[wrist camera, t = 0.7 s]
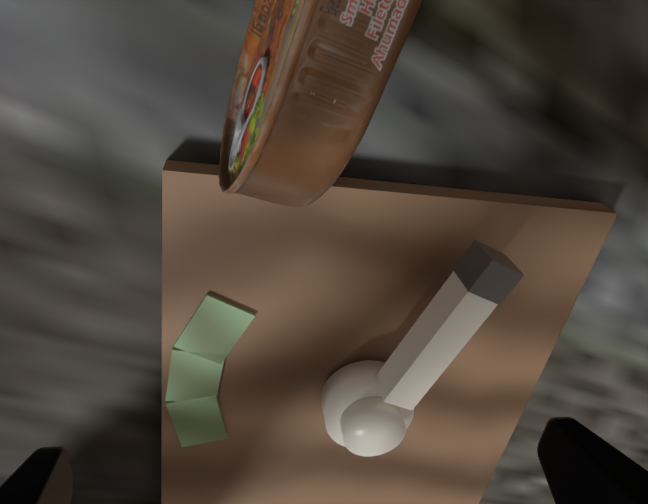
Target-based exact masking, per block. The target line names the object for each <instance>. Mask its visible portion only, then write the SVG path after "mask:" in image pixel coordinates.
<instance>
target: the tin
mask: <svg viewBox="0 0 648 504" xmlns="http://www.w3.org/2000/svg"><path fill="white" fill-rule="evenodd" d="M421 2H422V0H256V2H255V6H254V9H253V13H252V16H251V19H250V23H249V26H248V29H247V33H246V36H245V40H244V43H243V47H242V50H241V54H240V58H239V62H238V66H237V70H236V74H235V78H234V82H233V86H232V90H231V94H230V99H229V103H228V108H227V113H226V119H225V124H224V129H223V137H222V143H221V151H220V164H219V186H220V188H221V190H222V192H224V193H226V194H233V193H237V194H242V195H245V196H249V197H253V198H257V199H261V200H264V201H268V202H272V203H276V204H280V205H285V206H291V207H303V206H307V205H309V204H311V203H313V202H315V201H316V200H317V199H319V198H320V197H321V196H322V195H323V194H324V193H325V192H326V191H328V189H329V188H330V187H331V186H332V185H333V184H334V183H335V181H336V180H337V179H338V177H339V176H340V174H341V173H342V171H343V170H344V168H345V167H346V165H347V164H348V162H349V161H350V159H351V157H352V155H353V153H354V152H355V150H356V148H357V146H358V145H359V143H360V141H361V139H362V137H363V135H364V133H365V131H366V129H367V127H368V125H369V123H370V120H371V118H372V116H373V113H374V111H375V109H376V107H377V104H378V102H379V100H380V98H381V95H382V93H383V91H384V88H385V86H386V83H387V81H388V79H389V77H390V75H391V73H392V70H393V68H394V66H395V63H396V61H397V59H398V56H399V54H400V52H401V49H402V47H403V45H404V43H405V40H406V38H407V35H408V33H409V30H410V28H411V26H412V23H413V21H414V19H415V17H416V14H417V12H418V10H419V7H420V5H421Z"/></svg>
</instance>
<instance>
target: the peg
mask: <svg viewBox="0 0 648 504" xmlns="http://www.w3.org/2000/svg"><path fill="white" fill-rule="evenodd" d="M523 276H524V274H523V273H522V272H521V271H520V270H519V269H518V268H517V267H516V265H515V264H514V263H513V262H512V261H511V260H510V259H509V258H508V257H507V256H506V255H505V254H504V253H502V252H500V251H498V250H496V249H494V248H492V247H490V246H487V245H485V244H483V243H481V242H479V241H477V240H474V241H473V242H472V244H471V245H470V247H469V248H468V249H467V251H466V252H465V253H464V255H463V256H462V257H461V259H460V260H459V261H458V263H457V264H456V265H455V267H454V268H453V272H452V274H451V275H450V276H449V278H448V279H447V280H446V282H445V283H444V284H443V286H442V287H441V289H440V290H439V291H438V293H437V294H436V295H435V297H434V298H433V299H432V301H431V302H430V303H429V305H428V306H427V307H426V309H425V310H424V311H423V313H422V314H421V315H420V317H419V318H418V319H417V321H416V322H415V324H414V325H413V326H412V328H411V329H410V330H409V332H408V333H407V334H406V336H405V337H404V338H403V340H402V341H401V342H400V344H399V345H398V346H397V348H396V349H395V350H394V352H393V353H392V355H391V356H390V357H389V359H388V360H387V361H386V363H385V362H381V361H376V360H365V361H358V362H354V363H351V364H349V365H346V366H344V367H342V368H340V369H339V370H337V371H336V372H335V373H333V374H332V375H331V376H330V377H329V378H328V380H327V381H326V382H325V384H324V386H323V388H322V392H321V404H322V409H323V414H324V420H325V425H326V430H327V432H328V434H329V436H330V437H331V438H332V439H333V440H334V441H335V442H336V443H338V444H340V445H342V446H344V447H346V448H347V449H348V450H349V451H350V452H352V453H354V454H356V455H359V456H365V457H371V456H378V455H382V454H384V453H387V452H389V451H391V450H393V449H394V448H395V447H397V446H398V445H399V444H400V443H401V441H402V440H403V438H404V437H405V434H406V429H407V428H408V427H409V425H410V423H411V422H412V419H413V416H414V407H415V406H416V405H417V404H418V403H419V401H420V400H421V399H422V398H423V396H424V395H425V394H426V393H427V391H428V390H429V389H430V388H431V387H432V385H433V384H434V383H435V382H436V380H437V379H438V378H439V377H440V375H441V374H442V373H443V372H444V371H445V369H446V368H447V367H448V366H449V364H450V363H451V362H452V361H453V359H454V358H455V357H456V356H457V354H458V353H459V352H460V351H461V350H462V348H463V347H464V346H465V345H466V343H467V342H468V341H469V340H470V338H471V337H472V336H473V335H474V334H475V332H476V331H477V330H478V329H479V327H480V326H481V325H482V324H483V322H484V321H485V320H486V319H487V317H488V316H489V315H490V314H491V313H492V311H493V310H494V309H495V308H496V306H497V305H500V304H501V303H502V302H503V301H504V299H505V298H506V297H507V296H508V295H509V293H510V292H511V291H512V290H513V288H514V287H515V286H516V285H517V283H518V282H519V281H520V280H521V279H522V277H523Z"/></svg>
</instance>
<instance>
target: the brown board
mask: <svg viewBox="0 0 648 504" xmlns="http://www.w3.org/2000/svg"><path fill="white" fill-rule="evenodd" d="M617 214H618V213H616V212H615V211H613V210H612V209H610V208H609V207H607V206H606V205H604V204H603V203H599V202H588V201H578V200H568V199H558V198H548V197H538V196H528V195H518V194H508V193H498V192H488V191H478V190H468V189H457V188H447V187H437V186H427V185H417V184H407V183H397V182H387V181H377V180H367V179H357V178H347V177H338V179H337V180H336V181H335V183H334V184H333V185H332V186H331V187H330V188H329V189H328V191H326V192H325V193H324V194H323V195H322V196H321V197H320V198H319V199H317V200H316V201H315V202H313V203H311V204H309V205H307V206H303V207H291V206H285V205H280V204H276V203H272V202H268V201H264V200H261V199H257V198H253V197H249V196H245V195H242V194H237V193H233V194H226V193H224V192H222V190H221V188H220V186H219V165H216V164H205V163H195V162H185V161H175V160H166V162H165V165H164V168H163V170H162V455H161V504H479V502H480V500H481V498H482V496H483V494H484V492H485V489H486V487H487V485H488V483H489V481H490V479H491V477H492V475H493V473H494V471H495V469H496V467H497V464H498V462H499V460H500V458H501V456H502V454H503V452H504V450H505V448H506V446H507V444H508V442H509V439H510V437H511V435H512V433H513V431H514V429H515V427H516V425H517V423H518V421H519V419H520V416H521V414H522V412H523V410H524V408H525V406H526V404H527V402H528V400H529V398H530V396H531V394H532V391H533V389H534V387H535V385H536V383H537V381H538V379H539V377H540V375H541V373H542V371H543V369H544V366H545V364H546V362H547V360H548V358H549V356H550V354H551V352H552V350H553V348H554V346H555V344H556V341H557V339H558V337H559V335H560V333H561V331H562V329H563V327H564V325H565V323H566V321H567V318H568V316H569V314H570V312H571V310H572V308H573V306H574V304H575V302H576V300H577V298H578V296H579V293H580V291H581V289H582V287H583V285H584V283H585V281H586V279H587V277H588V275H589V273H590V271H591V268H592V266H593V264H594V262H595V260H596V258H597V256H598V254H599V252H600V250H601V248H602V245H603V243H604V241H605V239H606V237H607V235H608V233H609V231H610V229H611V227H612V225H613V223H614V220H615V218H616V216H617ZM474 240H477V241H479V242H481V243H483V244H485V245H487V246H490V247H492V248H494V249H496V250H498V251H500V252H502V253H504V254H505V255H506V256H507V257H508V258H509V259H510V260H511V261H512V262H513V263H514V264H515V265H516V267H517V268H518V269H519V270H520V271H521V272H522V273H523V274H524V276H523V277H522V279H521V280H520V281H519V282H518V283H517V285H516V286H515V287H514V288H513V290H512V291H511V292H510V293H509V295H508V296H507V297H506V298H505V299H504V301H503V302H502V303H501V304H500V305H497V306H496V308H495V309H494V310H493V311H492V313H491V314H490V315H489V316H488V317H487V319H486V320H485V321H484V322H483V324H482V325H481V326H480V327H479V329H478V330H477V331H476V332H475V334H474V335H473V336H472V337H471V338H470V340H469V341H468V342H467V343H466V345H465V346H464V347H463V348H462V350H461V351H460V352H459V353H458V354H457V356H456V357H455V358H454V359H453V361H452V362H451V363H450V364H449V366H448V367H447V368H446V369H445V371H444V372H443V373H442V374H441V375H440V377H439V378H438V379H437V380H436V382H435V383H434V384H433V385H432V387H431V388H430V389H429V390H428V391H427V393H426V394H425V395H424V396H423V398H422V399H421V400H420V401H419V403H418V404H417V405H416V406H415V407H414V416H413V419H412V422H411V423H410V425H409V427H408V428H407V429H406V434H405V437H404V438H403V440H402V441H401V443H400V444H399V445H398V446H397V447H395V448H394V449H393V450H391V451H389V452H387V453H384V454H382V455H378V456H371V457H365V456H359V455H356V454H354V453H352V452H350V451H349V450H348V449H347V448H346V447H344V446H342V445H340V444H338V443H336V442H335V441H334V440H333V439H332V438H331V437H330V436H329V434H328V432H327V430H326V425H325V420H324V414H323V409H322V404H321V392H322V388H323V386H324V384H325V382H326V381H327V380H328V378H329V377H330V376H331V375H332V374H333V373H335V372H336V371H337V370H339V369H340V368H342V367H344V366H346V365H349V364H351V363H354V362H358V361H365V360H376V361H381V362H385V363H386V361H387V360H388V359H389V357H390V356H391V355H392V353H393V352H394V350H395V349H396V348H397V346H398V345H399V344H400V342H401V341H402V340H403V338H404V337H405V336H406V334H407V333H408V332H409V330H410V329H411V328H412V326H413V325H414V324H415V322H416V321H417V319H418V318H419V317H420V315H421V314H422V313H423V311H424V310H425V309H426V307H427V306H428V305H429V303H430V302H431V301H432V299H433V298H434V297H435V295H436V294H437V293H438V291H439V290H440V289H441V287H442V286H443V284H444V283H445V282H446V280H447V279H448V278H449V276H450V275H451V274H452V272H453V268H454V267H455V265H456V264H457V263H458V261H459V260H460V259H461V257H462V256H463V255H464V253H465V252H466V251H467V249H468V248H469V247H470V245H471V244H472V242H473V241H474Z"/></svg>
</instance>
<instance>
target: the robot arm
mask: <svg viewBox="0 0 648 504" xmlns="http://www.w3.org/2000/svg"><path fill="white" fill-rule="evenodd" d="M537 453H538V457H539V460H540V463H541V466H542V469H543V471H544V474H545V477H546V479H547V482H548V485H549V488H550V490H551V493H552V496H553V498H554V501H555V504H648V471H647V470H646V469H644V468H643V467H641V466H640V465H639V464H637V463H636V462H634V461H633V460H631V459H630V458H629V457H627V456H626V455H624V454H623V453H622V452H620V451H619V450H617V449H616V448H614V447H613V446H612V445H610V444H609V443H607V442H606V441H605V440H603V439H602V438H600V437H599V436H598V435H596V434H595V433H593V432H592V431H590V430H589V429H588V428H586V427H585V426H583V425H582V424H581V423H579V422H578V421H576V420H575V419H573V418H570V417H556V418H551V419H550V420H549V421H548V422H547V424H546V427H545V429H544V431H543V434H542V436H541V438H540V440H539V443H538V447H537ZM73 486H74V479H73V474H72V470H71V466H70V462H69V458H68V454H67V451H66V449H65V448H64V447H44V448H40V449H38V450H36V451H35V452H34V453H33V454H32V455H31V456H30V457H29V458H28V459H27V460H26V461H25V462H24V463H23V464H22V465H21V466H20V467H19V468H18V469H17V470H16V471H15V472H14V473H13V474H12V475H11V476H10V477H9V478H8V479H7V480H6V481H5V482H4V483H3V484H2V485H1V486H0V504H70V503H71V498H72V493H73Z"/></svg>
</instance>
